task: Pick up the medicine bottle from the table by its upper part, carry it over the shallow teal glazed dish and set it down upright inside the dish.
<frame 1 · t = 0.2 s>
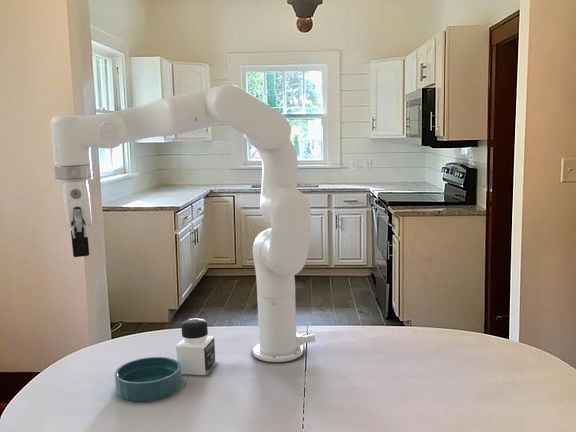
hand: (80, 251, 131), 31 cm above the table, tool pointing down, fingers open, 9 cm apart
dish: (149, 388, 134), on the table
medicine bottle: (197, 369, 144), on the table
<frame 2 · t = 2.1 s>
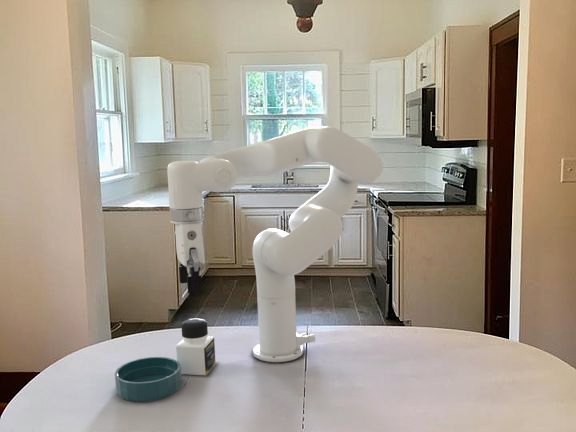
hand: (190, 287, 140), 20 cm above the table, tool pointing down, fingers open, 9 cm apart
nothing on the table moved.
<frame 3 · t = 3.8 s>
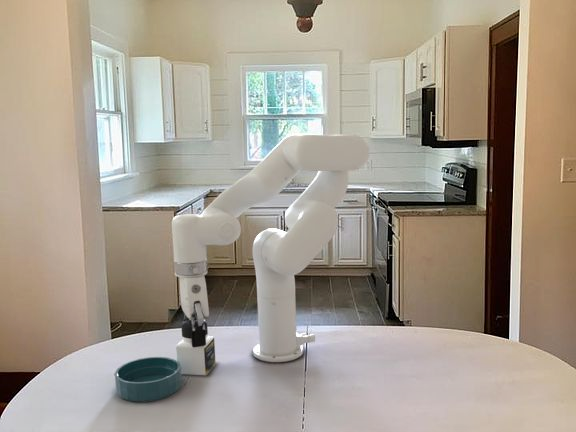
hand: (195, 339, 142), 7 cm above the table, tool pointing down, fingers closed on medicine bottle, 7 cm apart
medicine bottle: (197, 369, 144), on the table, touching gripper
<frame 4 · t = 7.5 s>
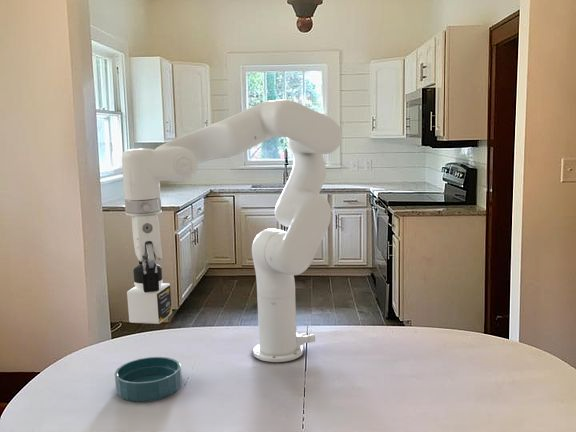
hand: (148, 286, 131), 23 cm above the table, tool pointing down, fingers closed on medicine bottle, 7 cm apart
medicine bottle: (151, 319, 133), point 16 cm above the table, touching gripper
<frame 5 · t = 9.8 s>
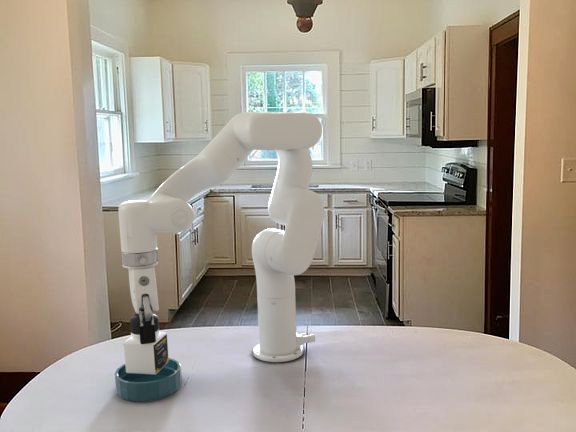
hand: (145, 336, 132), 12 cm above the table, tool pointing down, fingers closed on medicine bottle, 7 cm apart
medicine bottle: (147, 368, 133), point 5 cm above the table, touching gripper
when the fingers open (8 cm above the table, at t = 11.5 s): medicine bottle stays where it is, resting on dish.
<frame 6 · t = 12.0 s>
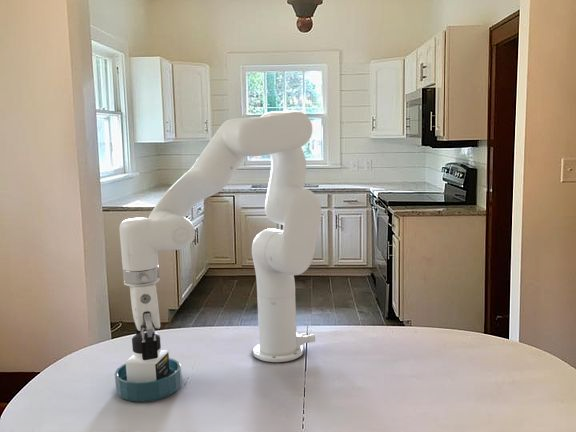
hand: (147, 350, 133), 9 cm above the table, tool pointing down, fingers open, 9 cm apart
medicine bottle: (149, 386, 134), resting on dish
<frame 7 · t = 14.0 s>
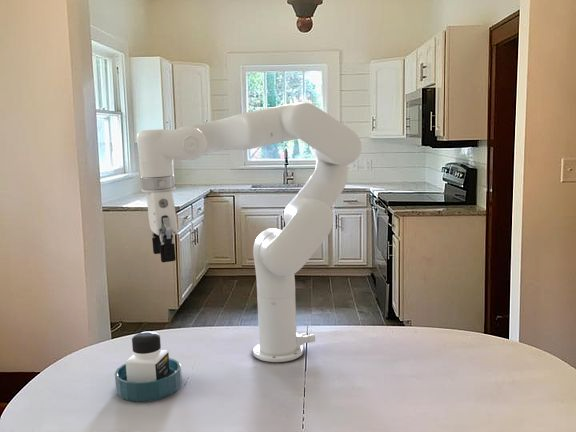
hand: (164, 257, 140), 27 cm above the table, tool pointing down, fingers open, 9 cm apart
nothing on the table moved.
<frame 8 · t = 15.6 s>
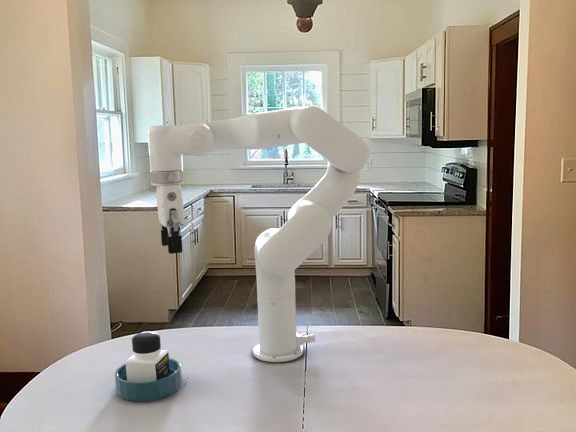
hand: (171, 248, 144), 28 cm above the table, tool pointing down, fingers open, 9 cm apart
nothing on the table moved.
at the end: medicine bottle inside the target area in the dish (0.0 cm from its centre), point 0.4 cm above the dish's base; medicine bottle tilted 0°; the gripper is holding nothing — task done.
